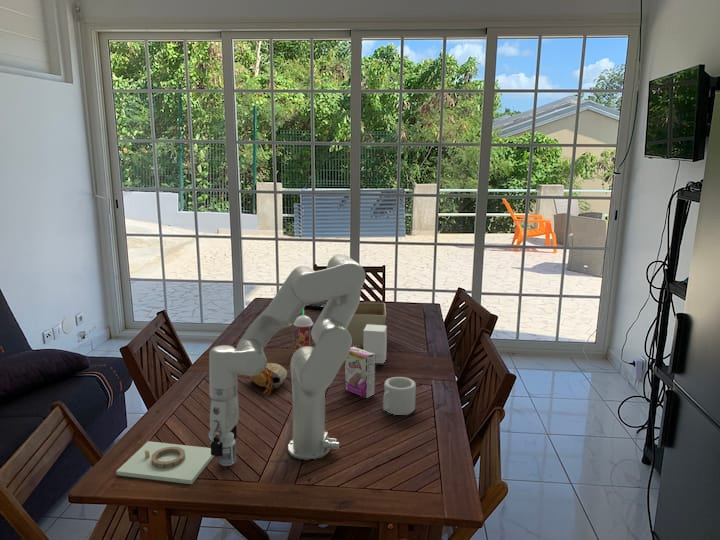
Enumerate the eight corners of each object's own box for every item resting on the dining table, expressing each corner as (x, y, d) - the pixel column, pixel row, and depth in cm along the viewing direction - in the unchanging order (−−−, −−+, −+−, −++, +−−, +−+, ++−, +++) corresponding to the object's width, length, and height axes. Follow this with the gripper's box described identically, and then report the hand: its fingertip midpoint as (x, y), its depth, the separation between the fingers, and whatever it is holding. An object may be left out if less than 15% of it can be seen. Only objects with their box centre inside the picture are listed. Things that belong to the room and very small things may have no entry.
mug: (398, 399, 198) (398, 373, 196) (421, 409, 190) (422, 382, 188) (371, 411, 188) (372, 384, 186) (395, 422, 181) (396, 394, 179)
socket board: (217, 452, 162) (216, 442, 161) (191, 484, 146) (191, 473, 146) (148, 444, 166) (147, 435, 165) (116, 475, 150) (115, 464, 149)
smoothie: (317, 352, 242) (316, 308, 238) (305, 358, 236) (304, 313, 231) (302, 348, 247) (301, 305, 243) (290, 354, 240) (289, 310, 236)
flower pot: (385, 351, 245) (386, 314, 242) (343, 350, 245) (343, 314, 242) (384, 336, 264) (385, 302, 260) (344, 336, 264) (344, 302, 260)
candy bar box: (343, 390, 204) (344, 348, 201) (353, 386, 208) (353, 345, 204) (366, 400, 197) (366, 356, 193) (375, 395, 200) (376, 353, 197)
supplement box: (386, 358, 237) (387, 325, 233) (384, 366, 228) (384, 331, 225) (366, 356, 238) (366, 323, 235) (362, 364, 229) (363, 330, 226)
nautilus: (282, 401, 196) (240, 402, 197) (290, 374, 217) (253, 375, 217) (280, 381, 194) (238, 382, 194) (289, 355, 215) (251, 356, 215)
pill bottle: (229, 455, 160) (228, 429, 159) (239, 461, 158) (238, 434, 156) (215, 462, 157) (214, 435, 155) (226, 468, 154) (224, 441, 152)
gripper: (223, 405, 143) (224, 464, 147) (248, 379, 160) (247, 433, 164) (196, 401, 145) (197, 460, 148) (223, 376, 161) (224, 430, 165)
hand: (224, 446), depth 156 cm, fingers open, 9 cm apart
